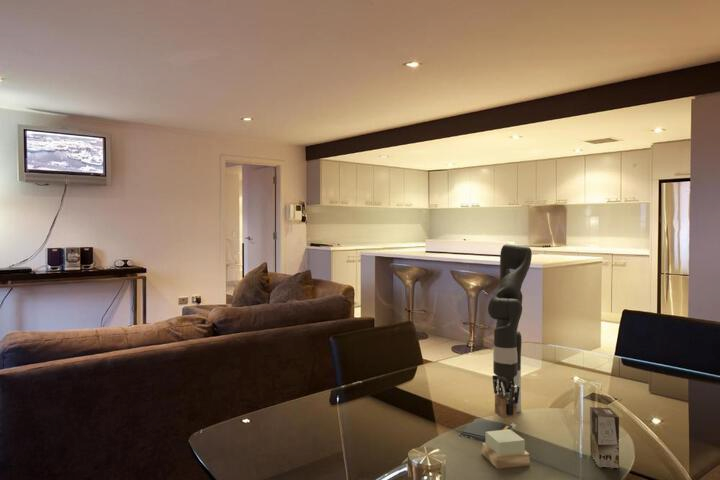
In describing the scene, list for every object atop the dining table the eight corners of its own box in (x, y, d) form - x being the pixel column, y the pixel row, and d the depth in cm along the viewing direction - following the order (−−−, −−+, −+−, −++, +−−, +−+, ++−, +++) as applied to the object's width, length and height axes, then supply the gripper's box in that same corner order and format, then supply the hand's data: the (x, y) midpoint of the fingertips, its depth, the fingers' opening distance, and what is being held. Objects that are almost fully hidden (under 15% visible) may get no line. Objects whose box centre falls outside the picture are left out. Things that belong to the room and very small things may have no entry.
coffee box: (620, 469, 147) (619, 417, 147) (597, 467, 148) (597, 415, 148) (610, 456, 156) (610, 407, 156) (589, 454, 157) (589, 406, 157)
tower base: (481, 454, 159) (481, 442, 159) (512, 451, 161) (512, 439, 161) (497, 470, 148) (497, 457, 148) (529, 466, 150) (529, 454, 150)
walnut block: (494, 412, 156) (494, 394, 157) (508, 411, 157) (508, 393, 157) (502, 418, 152) (502, 399, 152) (516, 417, 153) (516, 398, 153)
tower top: (485, 443, 158) (485, 431, 158) (509, 441, 160) (509, 429, 160) (499, 455, 149) (499, 442, 149) (524, 452, 151) (524, 440, 151)
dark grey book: (476, 415, 190) (514, 423, 181) (476, 419, 190) (514, 428, 181) (455, 431, 174) (495, 441, 165) (455, 436, 174) (495, 446, 165)
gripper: (484, 355, 161) (484, 405, 161) (505, 366, 147) (505, 421, 147) (505, 354, 162) (505, 404, 162) (527, 364, 148) (527, 419, 148)
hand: (505, 411), depth 154 cm, fingers closed on walnut block, 5 cm apart
